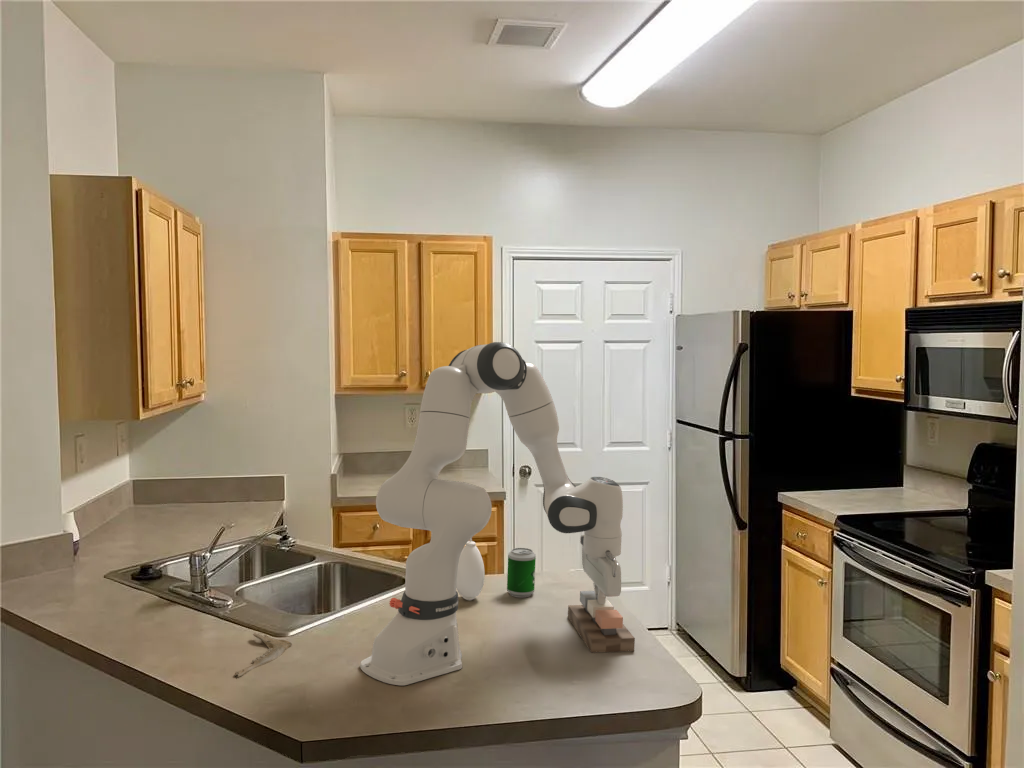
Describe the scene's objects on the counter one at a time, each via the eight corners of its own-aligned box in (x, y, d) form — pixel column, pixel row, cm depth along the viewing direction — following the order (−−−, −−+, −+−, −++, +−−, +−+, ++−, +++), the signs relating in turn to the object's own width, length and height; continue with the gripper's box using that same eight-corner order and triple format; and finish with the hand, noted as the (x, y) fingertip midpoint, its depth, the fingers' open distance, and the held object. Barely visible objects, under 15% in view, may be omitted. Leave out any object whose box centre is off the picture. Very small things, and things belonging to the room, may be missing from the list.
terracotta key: (621, 641, 180) (623, 617, 179) (600, 642, 179) (601, 618, 178) (615, 633, 184) (616, 609, 184) (594, 634, 184) (595, 610, 183)
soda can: (531, 600, 210) (533, 555, 209) (504, 597, 212) (505, 553, 211) (536, 591, 217) (538, 548, 217) (509, 588, 219) (511, 545, 218)
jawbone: (293, 642, 179) (294, 633, 179) (279, 683, 159) (280, 673, 159) (252, 639, 178) (253, 630, 178) (233, 681, 158) (234, 671, 158)
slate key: (604, 620, 193) (605, 597, 193) (584, 620, 192) (585, 597, 192) (598, 612, 198) (599, 590, 198) (579, 613, 197) (580, 591, 197)
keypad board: (634, 651, 179) (634, 638, 178) (591, 652, 177) (592, 639, 177) (606, 615, 200) (606, 604, 200) (567, 616, 198) (568, 605, 198)
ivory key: (612, 630, 186) (613, 606, 186) (592, 630, 186) (593, 607, 185) (606, 622, 191) (607, 599, 191) (586, 623, 190) (587, 599, 190)
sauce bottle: (482, 604, 205) (485, 536, 204) (452, 603, 205) (455, 535, 204) (484, 594, 213) (486, 529, 212) (455, 593, 213) (457, 528, 212)
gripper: (629, 558, 178) (626, 617, 179) (602, 533, 198) (600, 587, 199) (602, 558, 177) (600, 618, 178) (578, 534, 197) (576, 588, 198)
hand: (600, 602), depth 189 cm, fingers closed
